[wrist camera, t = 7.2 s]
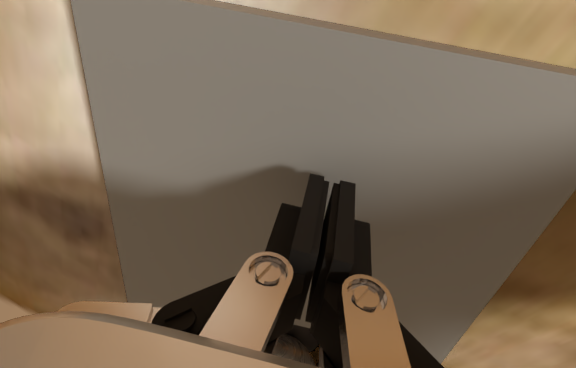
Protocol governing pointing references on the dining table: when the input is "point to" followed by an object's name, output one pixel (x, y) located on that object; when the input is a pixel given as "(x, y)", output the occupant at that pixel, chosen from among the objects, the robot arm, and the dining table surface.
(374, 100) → the grey flat plate
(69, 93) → the dining table surface
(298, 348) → the ball
